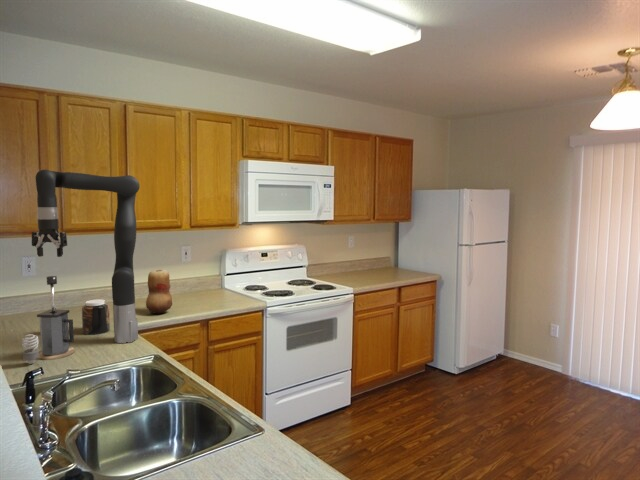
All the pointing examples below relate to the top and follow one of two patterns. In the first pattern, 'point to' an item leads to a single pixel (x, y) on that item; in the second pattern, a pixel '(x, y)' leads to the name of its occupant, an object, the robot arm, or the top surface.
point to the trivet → (42, 357)
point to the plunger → (52, 290)
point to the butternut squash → (158, 291)
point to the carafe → (55, 332)
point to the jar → (95, 317)
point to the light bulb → (30, 353)
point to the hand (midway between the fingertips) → (50, 256)
